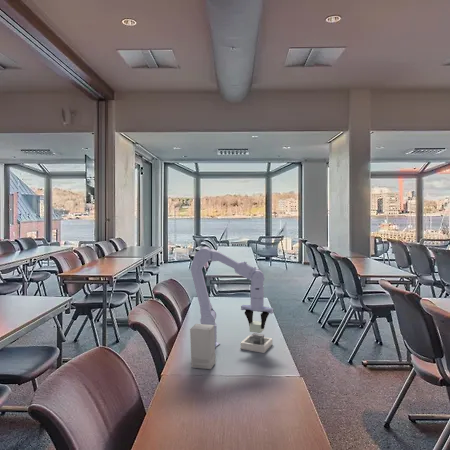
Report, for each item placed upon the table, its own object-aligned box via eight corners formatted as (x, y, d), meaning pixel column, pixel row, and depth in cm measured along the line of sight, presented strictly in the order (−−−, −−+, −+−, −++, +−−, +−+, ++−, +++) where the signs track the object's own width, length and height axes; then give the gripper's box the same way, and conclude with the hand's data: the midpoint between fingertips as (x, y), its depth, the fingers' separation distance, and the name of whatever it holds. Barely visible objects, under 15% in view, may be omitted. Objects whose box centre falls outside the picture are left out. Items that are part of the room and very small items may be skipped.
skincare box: (215, 363, 149) (215, 324, 148) (210, 370, 143) (210, 329, 142) (195, 361, 151) (195, 322, 151) (189, 367, 145) (189, 327, 144)
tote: (264, 353, 160) (264, 346, 160) (240, 348, 165) (240, 342, 164) (272, 344, 170) (272, 338, 170) (249, 340, 175) (249, 334, 174)
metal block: (260, 348, 164) (260, 338, 164) (249, 346, 166) (249, 336, 166) (264, 344, 168) (264, 334, 168) (253, 342, 171) (253, 333, 170)
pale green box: (260, 333, 164) (260, 325, 163) (249, 331, 166) (249, 323, 166) (264, 329, 168) (264, 322, 168) (253, 328, 170) (253, 320, 170)
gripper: (275, 296, 167) (275, 327, 167) (245, 293, 173) (245, 322, 174) (270, 300, 160) (270, 331, 161) (239, 297, 167) (239, 327, 167)
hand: (256, 327), depth 167 cm, fingers closed on pale green box, 5 cm apart
